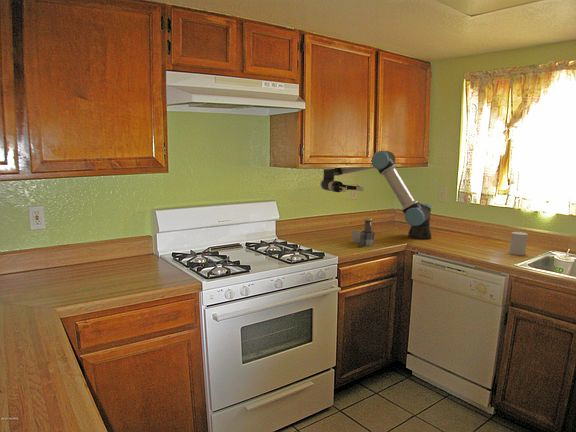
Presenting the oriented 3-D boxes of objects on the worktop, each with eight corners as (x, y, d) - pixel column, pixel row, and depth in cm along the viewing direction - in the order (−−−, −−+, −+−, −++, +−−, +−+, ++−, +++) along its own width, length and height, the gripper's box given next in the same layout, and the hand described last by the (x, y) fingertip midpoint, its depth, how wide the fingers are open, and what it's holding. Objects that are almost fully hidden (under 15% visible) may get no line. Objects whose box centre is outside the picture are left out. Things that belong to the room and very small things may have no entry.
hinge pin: (364, 243, 261) (366, 217, 259) (371, 244, 259) (373, 218, 256) (361, 244, 258) (363, 218, 255) (368, 245, 255) (370, 219, 252)
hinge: (354, 241, 267) (355, 228, 266) (375, 244, 259) (376, 231, 258) (345, 245, 255) (345, 232, 254) (366, 248, 248) (367, 235, 246)
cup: (528, 255, 241) (530, 234, 239) (514, 255, 241) (517, 234, 239) (519, 251, 249) (521, 231, 247) (506, 251, 249) (508, 231, 247)
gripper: (350, 191, 295) (369, 194, 277) (320, 192, 284) (337, 196, 266) (351, 180, 294) (370, 183, 276) (320, 181, 283) (338, 184, 264)
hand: (354, 189), depth 270 cm, fingers open, 13 cm apart
